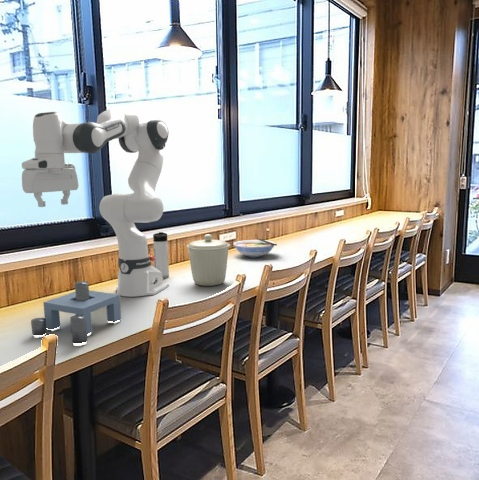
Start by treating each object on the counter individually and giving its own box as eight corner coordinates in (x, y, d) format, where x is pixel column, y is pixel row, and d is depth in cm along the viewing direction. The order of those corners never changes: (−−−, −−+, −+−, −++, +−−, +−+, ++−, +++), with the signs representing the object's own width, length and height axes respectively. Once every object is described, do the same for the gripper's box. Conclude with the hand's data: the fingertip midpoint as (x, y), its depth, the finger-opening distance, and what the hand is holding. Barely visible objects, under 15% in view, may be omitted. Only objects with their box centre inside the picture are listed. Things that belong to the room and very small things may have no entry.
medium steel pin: (81, 340, 135) (79, 313, 134) (90, 343, 133) (88, 316, 131) (69, 344, 132) (67, 317, 130) (78, 348, 130) (76, 320, 128)
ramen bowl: (227, 253, 262) (227, 239, 261) (265, 251, 269) (265, 237, 267) (241, 262, 238) (241, 246, 237) (282, 259, 245) (282, 243, 244)
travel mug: (169, 275, 213) (168, 232, 210) (168, 278, 206) (166, 234, 203) (156, 275, 213) (154, 232, 210) (153, 279, 206) (151, 234, 203)
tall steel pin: (84, 322, 150) (81, 280, 148) (93, 324, 148) (91, 281, 146) (75, 326, 146) (71, 283, 144) (84, 328, 145) (81, 284, 142)
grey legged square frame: (83, 315, 158) (82, 289, 156) (121, 321, 151) (119, 294, 149) (45, 330, 144) (43, 302, 142) (84, 338, 137) (82, 308, 135)
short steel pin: (40, 332, 142) (39, 316, 141) (49, 334, 140) (48, 318, 139) (29, 337, 138) (28, 320, 138) (39, 339, 137) (37, 322, 136)
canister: (204, 276, 210) (202, 230, 207) (238, 281, 201) (237, 232, 197) (179, 285, 195) (177, 235, 191) (215, 291, 186) (213, 238, 182)
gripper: (67, 163, 162) (70, 202, 164) (16, 163, 144) (20, 208, 146) (81, 162, 159) (84, 203, 161) (31, 163, 141) (35, 208, 143)
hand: (53, 205), depth 154 cm, fingers open, 8 cm apart
